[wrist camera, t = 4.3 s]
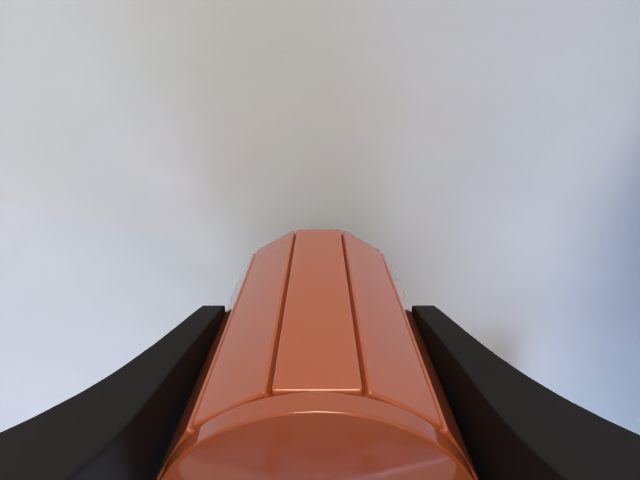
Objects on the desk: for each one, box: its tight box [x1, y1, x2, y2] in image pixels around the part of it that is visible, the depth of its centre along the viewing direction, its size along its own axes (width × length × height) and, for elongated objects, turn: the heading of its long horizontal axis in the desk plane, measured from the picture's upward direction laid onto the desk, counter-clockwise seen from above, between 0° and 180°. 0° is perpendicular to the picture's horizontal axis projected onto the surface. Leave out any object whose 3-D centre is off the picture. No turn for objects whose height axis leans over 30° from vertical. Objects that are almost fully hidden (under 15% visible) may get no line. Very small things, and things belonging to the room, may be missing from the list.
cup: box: [157, 230, 478, 480], centre depth 9 cm, size 5×5×7 cm
